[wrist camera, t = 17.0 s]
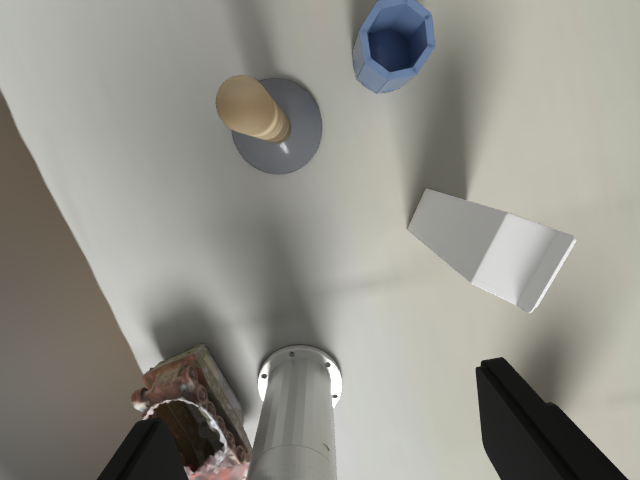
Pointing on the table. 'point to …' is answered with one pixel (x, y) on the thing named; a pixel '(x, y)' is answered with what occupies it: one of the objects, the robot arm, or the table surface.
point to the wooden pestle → (251, 110)
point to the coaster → (302, 135)
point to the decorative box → (197, 414)
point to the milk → (492, 247)
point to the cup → (393, 44)
